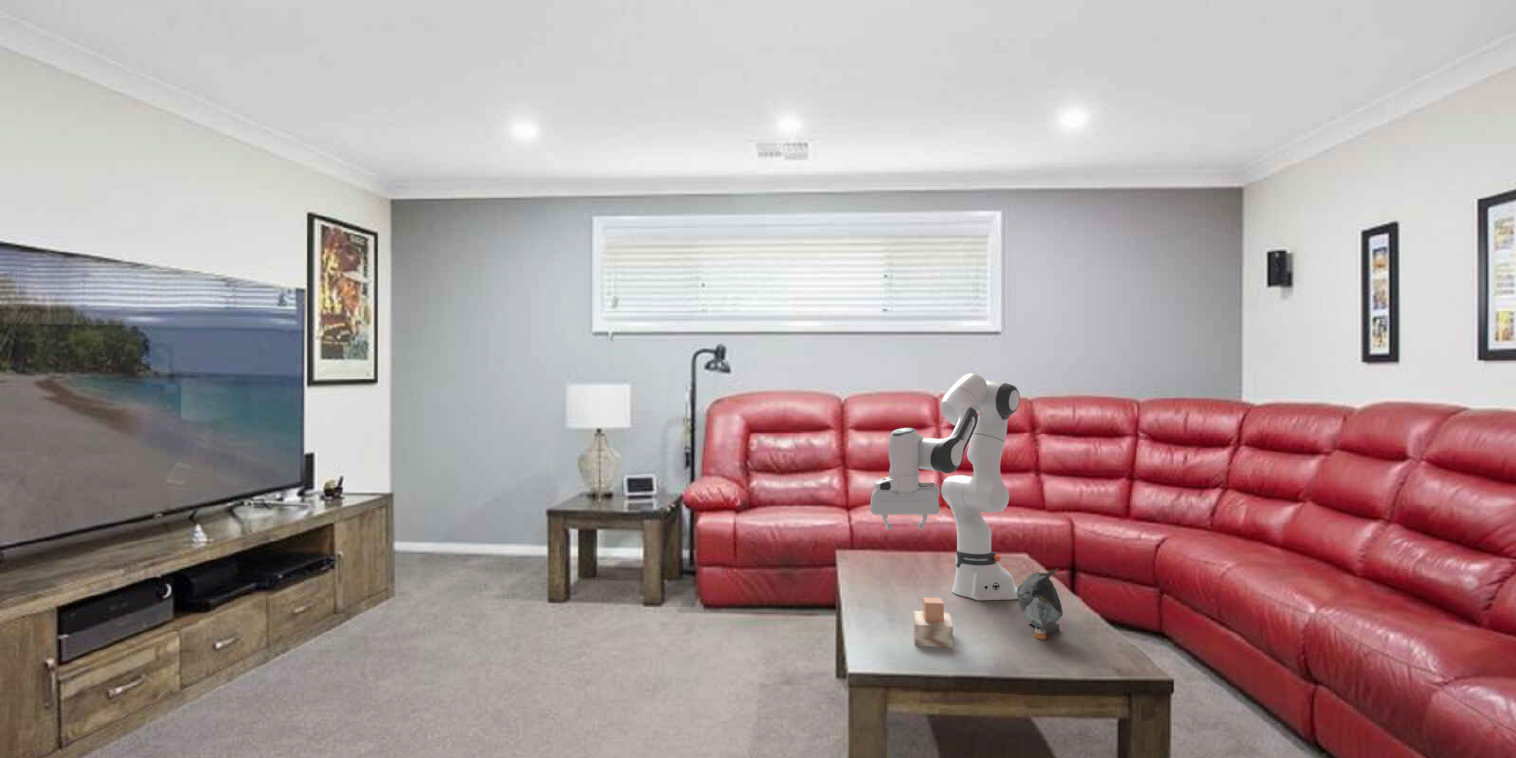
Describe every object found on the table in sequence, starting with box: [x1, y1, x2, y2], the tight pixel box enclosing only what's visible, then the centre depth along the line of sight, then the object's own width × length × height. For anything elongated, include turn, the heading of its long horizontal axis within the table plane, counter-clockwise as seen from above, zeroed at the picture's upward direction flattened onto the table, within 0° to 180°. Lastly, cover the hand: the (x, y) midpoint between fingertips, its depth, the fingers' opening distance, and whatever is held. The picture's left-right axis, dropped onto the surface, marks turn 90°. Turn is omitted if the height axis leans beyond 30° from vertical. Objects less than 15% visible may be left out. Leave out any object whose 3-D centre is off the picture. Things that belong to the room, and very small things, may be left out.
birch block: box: [913, 610, 954, 649], centre depth 213 cm, size 10×12×6 cm
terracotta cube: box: [922, 597, 945, 621], centre depth 213 cm, size 5×5×5 cm
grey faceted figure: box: [1016, 567, 1063, 640], centre depth 217 cm, size 14×15×18 cm
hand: (904, 529), depth 227 cm, fingers open, 8 cm apart
